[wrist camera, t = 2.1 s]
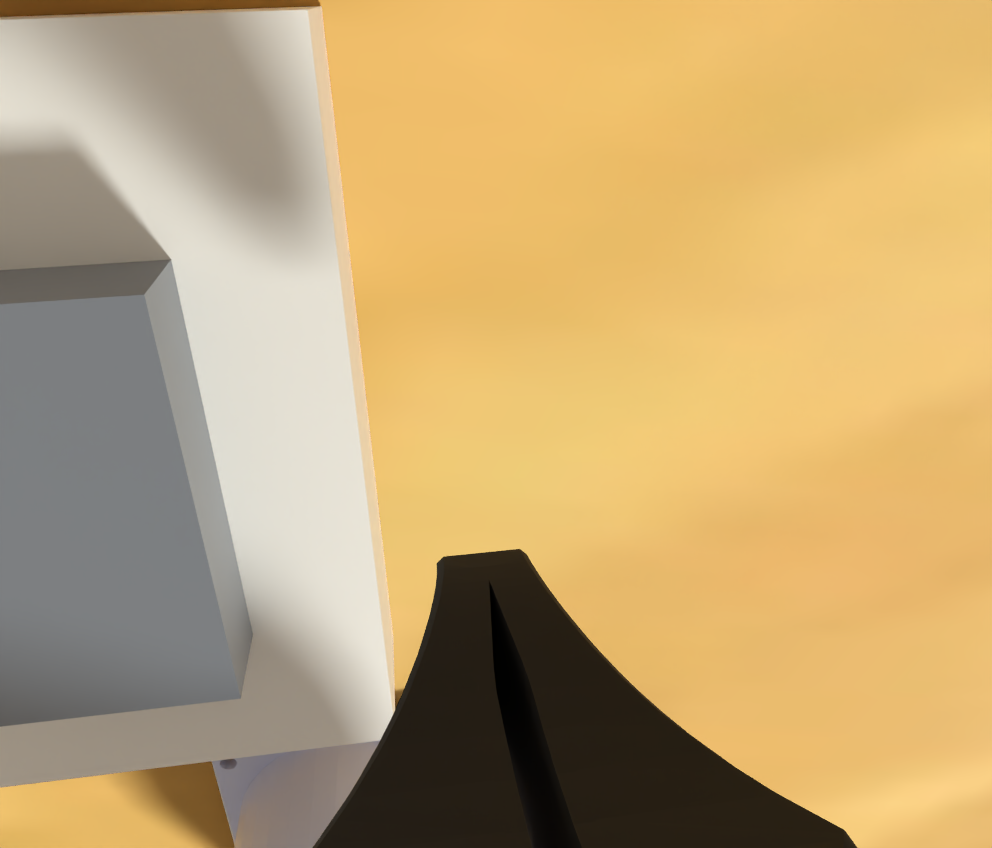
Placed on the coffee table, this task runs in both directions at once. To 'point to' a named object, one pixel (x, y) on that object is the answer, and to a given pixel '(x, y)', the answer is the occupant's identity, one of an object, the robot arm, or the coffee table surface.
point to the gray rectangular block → (109, 503)
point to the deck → (220, 344)
